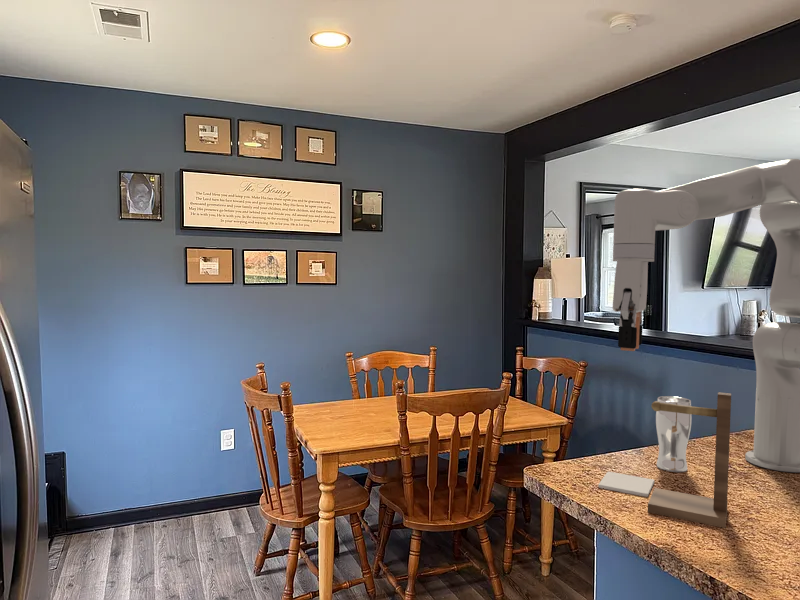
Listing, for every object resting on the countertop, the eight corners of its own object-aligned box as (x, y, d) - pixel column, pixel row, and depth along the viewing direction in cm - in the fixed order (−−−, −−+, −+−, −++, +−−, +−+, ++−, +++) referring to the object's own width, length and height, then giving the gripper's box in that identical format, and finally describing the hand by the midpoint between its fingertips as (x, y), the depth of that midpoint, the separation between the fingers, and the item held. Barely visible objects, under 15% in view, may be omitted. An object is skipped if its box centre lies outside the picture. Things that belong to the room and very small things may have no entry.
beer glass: (693, 474, 122) (696, 403, 121) (658, 471, 124) (660, 401, 123) (684, 463, 129) (686, 396, 128) (651, 461, 130) (653, 395, 130)
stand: (651, 495, 110) (655, 382, 109) (727, 509, 104) (731, 390, 103) (644, 511, 103) (648, 390, 102) (725, 528, 96) (730, 399, 95)
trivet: (607, 474, 122) (607, 471, 122) (654, 482, 117) (654, 479, 117) (598, 487, 114) (598, 484, 114) (647, 497, 109) (647, 493, 109)
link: (626, 347, 117) (627, 307, 117) (638, 348, 116) (640, 308, 116) (620, 350, 112) (622, 308, 112) (633, 351, 111) (635, 309, 111)
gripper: (621, 255, 123) (618, 340, 123) (604, 252, 108) (600, 349, 109) (660, 255, 119) (656, 343, 120) (647, 252, 104) (643, 352, 105)
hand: (630, 345), depth 114 cm, fingers closed on link, 6 cm apart
